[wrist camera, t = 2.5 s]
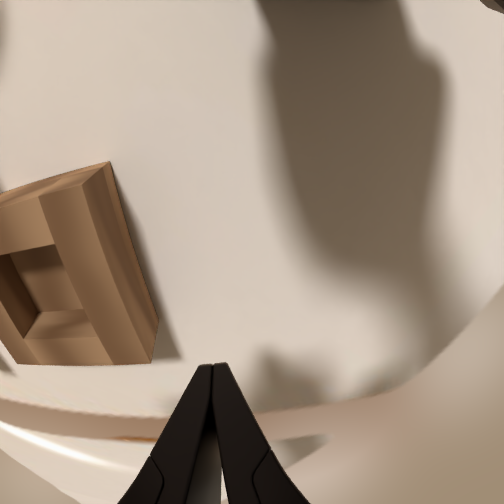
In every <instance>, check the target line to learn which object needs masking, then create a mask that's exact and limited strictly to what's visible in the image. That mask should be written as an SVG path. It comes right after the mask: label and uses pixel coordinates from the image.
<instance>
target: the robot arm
mask: <svg viewBox="0 0 504 504" xmlns="http://www.w3.org/2000/svg"><path fill="white" fill-rule="evenodd" d="M480 1H481V2H482V3H483V4H484V5H485V6H487V7H488V8H490V9H493V10H495V11H498V12H500V13H503V14H504V0H480ZM222 470H223V476H224V481H225V487H226V492H227V497H228V502H229V504H310V503H309V502H308V500H307V499H306V498H305V497H304V496H303V494H302V493H301V492H300V491H299V490H298V489H297V487H296V486H295V485H294V483H293V482H292V481H291V479H290V478H289V477H288V476H287V474H286V472H285V471H284V469H283V468H282V466H281V464H280V463H279V461H278V459H277V458H276V456H275V454H274V452H273V450H271V447H270V445H269V443H268V441H267V440H266V438H265V436H264V434H263V432H262V430H261V429H260V427H259V425H258V423H257V421H256V419H255V417H254V415H253V413H252V411H251V409H250V407H249V405H248V404H247V402H246V400H245V398H244V396H243V394H242V392H241V390H240V388H239V386H238V384H237V382H236V380H235V378H234V376H233V374H232V372H231V370H230V368H229V365H228V364H227V363H226V362H222V363H215V364H214V365H213V364H202V365H199V366H198V368H197V370H196V371H195V373H194V375H193V377H192V379H191V381H190V382H189V384H188V386H187V388H186V390H185V392H184V393H183V395H182V397H181V399H180V401H179V402H178V404H177V406H176V408H175V410H174V412H173V413H172V415H171V417H170V419H169V421H168V422H167V424H166V426H165V428H164V430H163V431H162V433H161V435H160V437H159V439H158V440H157V442H156V444H155V446H154V448H153V449H152V451H151V453H150V456H149V457H148V458H147V460H146V462H145V464H144V465H143V467H142V469H141V470H140V472H139V474H138V475H137V477H136V479H135V480H134V482H133V483H132V484H131V486H130V487H129V489H128V490H127V491H126V493H125V494H124V495H123V497H122V498H121V499H120V501H119V502H118V503H117V504H221V475H222Z"/></svg>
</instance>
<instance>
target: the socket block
mask: <svg viewBox="0 0 504 504" xmlns="http://www.w3.org/2000/svg"><path fill="white" fill-rule="evenodd" d="M158 323H159V319H158V317H157V314H156V311H155V309H154V306H153V303H152V301H151V298H150V295H149V292H148V290H147V287H146V284H145V281H144V278H143V275H142V272H141V269H140V266H139V263H138V260H137V257H136V254H135V251H134V248H133V245H132V241H131V238H130V235H129V231H128V228H127V225H126V221H125V218H124V214H123V211H122V207H121V204H120V200H119V197H118V193H117V189H116V185H115V181H114V177H113V173H112V169H111V165H110V161H108V162H104V163H100V164H96V165H92V166H88V167H85V168H81V169H77V170H74V171H70V172H67V173H63V174H60V175H56V176H53V177H49V178H46V179H43V180H40V181H37V182H33V183H30V184H27V185H24V186H21V187H18V188H15V189H12V190H9V191H7V192H4V193H1V194H0V340H1V341H2V343H3V344H4V346H5V347H6V349H7V350H8V351H9V353H10V354H11V356H12V357H13V358H14V360H15V361H16V363H17V364H27V365H60V366H94V365H129V364H150V363H151V359H152V354H153V348H154V343H155V338H156V333H157V328H158Z"/></svg>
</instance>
